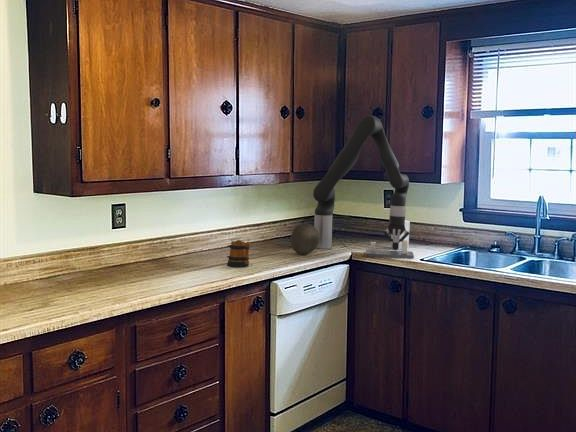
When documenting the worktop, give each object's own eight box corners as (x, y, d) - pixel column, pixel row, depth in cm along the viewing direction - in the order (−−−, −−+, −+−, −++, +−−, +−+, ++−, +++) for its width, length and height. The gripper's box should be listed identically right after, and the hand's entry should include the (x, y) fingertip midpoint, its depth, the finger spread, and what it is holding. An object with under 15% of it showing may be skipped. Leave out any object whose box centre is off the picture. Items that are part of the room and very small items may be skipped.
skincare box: (400, 247, 342) (401, 219, 340) (409, 248, 337) (410, 220, 335) (389, 248, 336) (391, 220, 335) (398, 250, 332) (400, 221, 330)
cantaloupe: (289, 256, 305) (290, 225, 303) (290, 251, 319) (291, 221, 317) (319, 257, 305) (320, 226, 303) (319, 252, 319) (320, 222, 317)
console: (365, 256, 311) (366, 245, 311) (365, 252, 323) (366, 241, 322) (413, 258, 308) (414, 247, 308) (412, 254, 320) (412, 243, 320)
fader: (401, 253, 312) (402, 240, 312) (401, 252, 315) (402, 239, 315) (406, 253, 312) (407, 241, 311) (406, 252, 315) (407, 240, 314)
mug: (221, 264, 282) (221, 239, 280) (239, 262, 289) (240, 237, 287) (240, 270, 272) (240, 243, 271) (258, 267, 279) (258, 241, 278)
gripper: (383, 215, 309) (381, 250, 311) (411, 216, 307) (409, 252, 309) (383, 213, 316) (381, 247, 318) (410, 214, 315) (408, 249, 317)
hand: (395, 249), depth 314 cm, fingers closed
